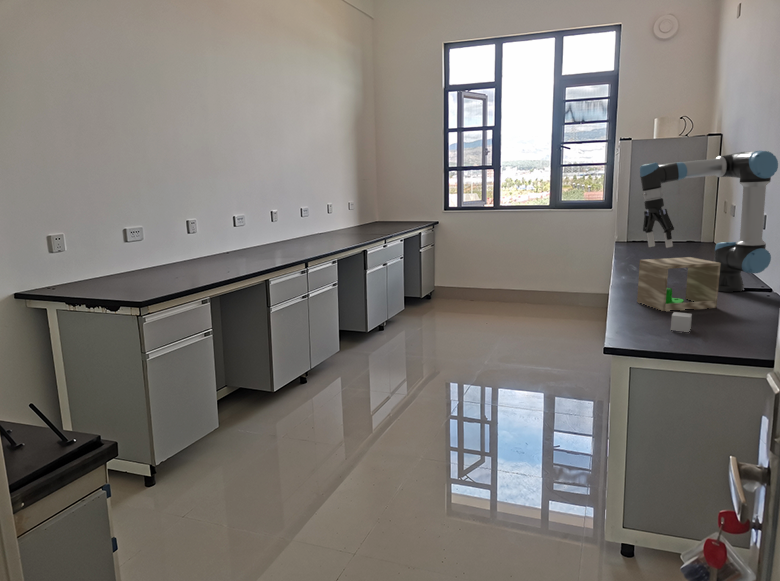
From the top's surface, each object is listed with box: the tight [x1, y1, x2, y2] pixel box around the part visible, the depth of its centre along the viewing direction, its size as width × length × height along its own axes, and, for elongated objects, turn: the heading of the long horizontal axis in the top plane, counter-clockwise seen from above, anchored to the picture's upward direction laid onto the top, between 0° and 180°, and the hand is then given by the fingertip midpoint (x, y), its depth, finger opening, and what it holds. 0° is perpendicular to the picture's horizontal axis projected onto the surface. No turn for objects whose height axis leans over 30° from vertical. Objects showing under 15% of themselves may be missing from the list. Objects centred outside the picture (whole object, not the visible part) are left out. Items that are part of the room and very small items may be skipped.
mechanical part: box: [666, 287, 685, 304], centre depth 245 cm, size 12×6×8 cm, turn 141°
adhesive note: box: [670, 311, 693, 333], centre depth 207 cm, size 6×6×6 cm
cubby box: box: [636, 256, 721, 312], centre depth 244 cm, size 25×18×19 cm
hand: (660, 246), depth 250 cm, fingers open, 13 cm apart
